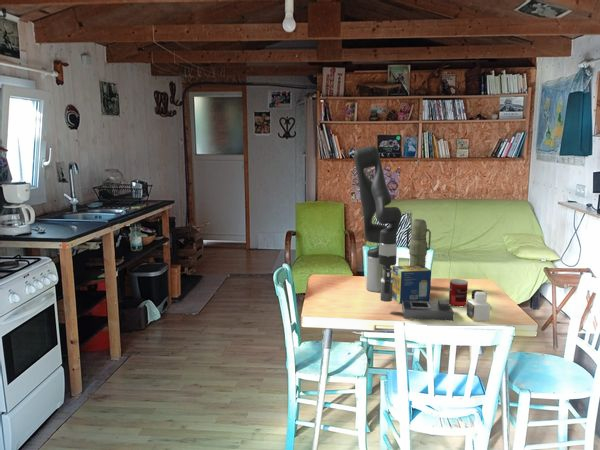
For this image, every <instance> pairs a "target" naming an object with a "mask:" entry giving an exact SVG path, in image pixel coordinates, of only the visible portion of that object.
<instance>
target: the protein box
mask: <svg viewBox="0 0 600 450" xmlns="http://www.w3.org/2000/svg"><path fill="white" fill-rule="evenodd" d="M391 277H392V278H393V286H392V300H393V299H394V301H396V303H398V304H400V305H402V300H420V301H431V283H432V270H431V269H429V268H428V267H426V266H425V267H424V266H423V265H410V264H409V265H392V273H391Z"/></svg>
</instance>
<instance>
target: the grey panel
mask: <svg viewBox="0 0 600 450" xmlns="http://www.w3.org/2000/svg"><path fill="white" fill-rule="evenodd" d="M401 311H402V314H403V319H405V320H423V321H424V320H425V321H426V320H427V321H428V320H429V321H445V322H446V321H449V322H454V310H453V308H452V305H450V303H449V299H438V300H437V301H436V300H430V301H420V300H402V304H401Z"/></svg>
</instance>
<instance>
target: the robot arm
mask: <svg viewBox="0 0 600 450" xmlns="http://www.w3.org/2000/svg"><path fill="white" fill-rule="evenodd" d="M353 160H354V166H355V171H356V176H357V179H358V188H359V197H360V203H361V204H360V205H361V209H362V214H363V215H362V216H363V227H364V228H363V229H364V230H363V232H364V239H365V240H366V242H367V243H375V244H378V246H376V247H374V248H370V249H368V250H367V253H366V258H367V259H366V286H365V287H366V289H365V290H367V291H369V292H374V293H375V292H376V293H377V292H378V293H379V292H380V293H381V277H383V279H384V285H385V286H384V293H390V285H391V277H392V270H393V267H391V266H396V265H397V252H398V250H397V248H398V247H397V234H398V231H399V227H400V224H401V221H402V211H401V210H400V208H399V207H397V206H388V205H390V204H391V203H392V197H391V194H390V192H389V188H388V186H387V183H386V178H385V174H384V169H383V165H382V161H381V156H380V153H379V151H378V149H377V147H376V146H374V145H370V146H367V147H362V148H357V149H355V150H354V151H353ZM372 167H374V171H375V172H374V176H373V178H372V180H371V179H370V178H369V177H368V176H367V174H366V172H365V171H364V170H365V169H368V168H372ZM387 206H388V207H387ZM374 216H375V217H376V220H377V222H378V223H379V224H377V223H375V224H374V223H373V217H374ZM387 225H388V226H387ZM386 280H389V282H386Z"/></svg>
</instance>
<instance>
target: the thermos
mask: <svg viewBox="0 0 600 450" xmlns="http://www.w3.org/2000/svg"><path fill="white" fill-rule="evenodd" d="M410 232H411V233H410ZM427 232H428V233H427ZM427 234H428V242H427ZM410 235H411V237H409V236H410ZM431 237H432V232H431V230H430V229H428V226H427V222H426V220H424V219H423V218H422V219H421V218H418V219H417V218H416V219H414V220H413V221H412V223H411V228H409V229H408V230H407V231H406V248H407V249H408V250H409V251H408V252H409V253H408V254H409V266H410V265H423V266H424V267H426V258H427V257H426V256H427V254H428V251H430V249H431ZM409 239H410V241H409Z"/></svg>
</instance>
